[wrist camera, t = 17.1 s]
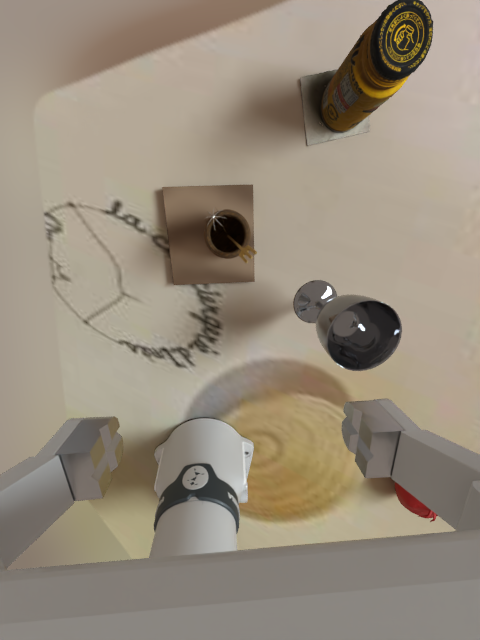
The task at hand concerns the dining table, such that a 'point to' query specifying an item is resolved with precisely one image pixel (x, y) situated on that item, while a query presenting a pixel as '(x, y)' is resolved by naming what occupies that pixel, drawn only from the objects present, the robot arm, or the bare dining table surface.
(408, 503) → the pomegranate
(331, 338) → the wine glass
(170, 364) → the dining table surface
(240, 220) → the utensil holder
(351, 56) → the condiment
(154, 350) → the dining table surface
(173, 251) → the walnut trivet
